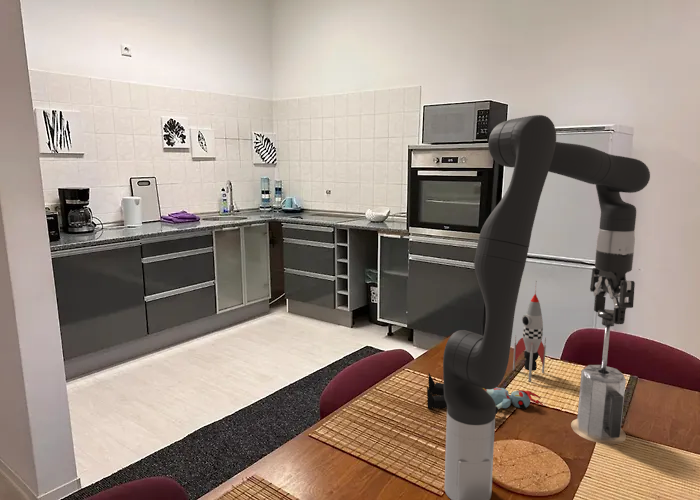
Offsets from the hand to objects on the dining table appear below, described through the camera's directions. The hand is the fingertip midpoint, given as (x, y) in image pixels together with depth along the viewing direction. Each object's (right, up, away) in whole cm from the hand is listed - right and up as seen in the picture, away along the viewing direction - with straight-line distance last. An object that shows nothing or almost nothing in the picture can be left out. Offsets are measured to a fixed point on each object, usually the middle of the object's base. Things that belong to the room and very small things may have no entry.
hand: (608, 317), depth 114 cm
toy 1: (-24, -27, +20) cm, 41 cm away
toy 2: (-4, -23, +38) cm, 45 cm away
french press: (0, -28, +4) cm, 29 cm away
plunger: (0, -17, +3) cm, 17 cm away
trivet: (0, -29, +5) cm, 29 cm away
